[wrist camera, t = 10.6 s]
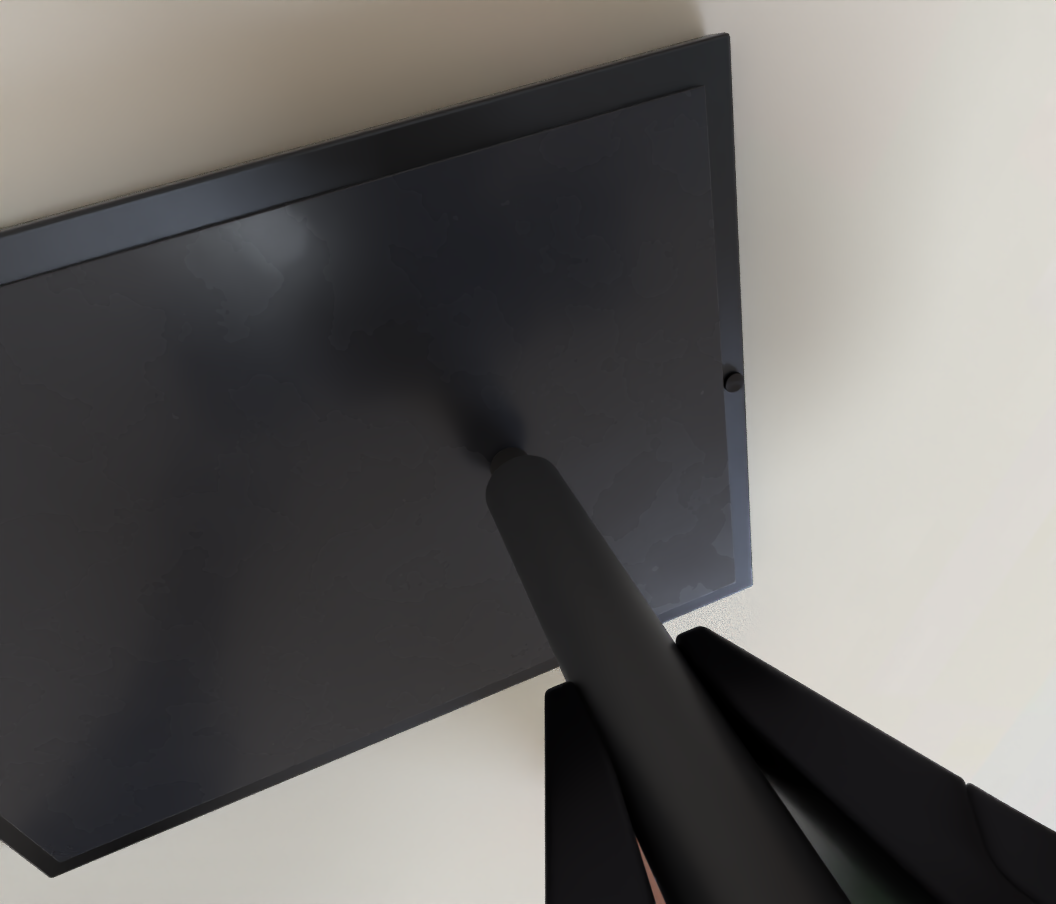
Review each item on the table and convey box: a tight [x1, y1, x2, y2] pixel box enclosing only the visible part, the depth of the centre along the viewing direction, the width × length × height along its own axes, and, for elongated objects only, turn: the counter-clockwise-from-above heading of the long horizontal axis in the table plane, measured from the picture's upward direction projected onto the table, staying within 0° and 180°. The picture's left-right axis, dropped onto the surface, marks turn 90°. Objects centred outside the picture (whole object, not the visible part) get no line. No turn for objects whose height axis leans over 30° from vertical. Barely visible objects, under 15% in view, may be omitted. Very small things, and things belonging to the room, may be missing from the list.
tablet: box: [0, 32, 753, 878], centre depth 14 cm, size 20×14×1 cm
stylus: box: [486, 448, 852, 904], centre depth 9 cm, size 2×2×10 cm
